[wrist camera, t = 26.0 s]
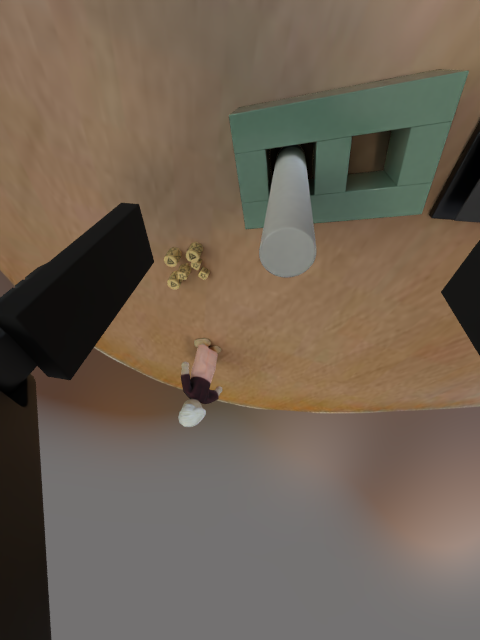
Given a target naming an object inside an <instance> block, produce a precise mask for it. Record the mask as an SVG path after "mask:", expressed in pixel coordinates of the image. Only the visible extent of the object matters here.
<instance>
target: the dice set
mask: <svg viewBox="0 0 480 640" xmlns="http://www.w3.org/2000/svg"><path fill="white" fill-rule="evenodd" d="M202 251H203V247H202V246H201V244H199V243H197V242H195V243H192V244H191V245H190V247H189V249H188V251H187V253H186V258H187V259H188V261H190V262H192V264H191V266H189V264H188V263H187V264H183V265H181V266H180V268H179V270H178V271H175V272H173V273H172V274H171V276H170V278H169V280H168V283H167V285H168V286H169V287H170V288H171V289H178V288H179V286H180V284H181V282H182V281H183V280H186V279H187V277H188V274H190V272H191V268H190V267H192V268H194V269H196V270H199V267H200V265H201V262H202V260H201V259H199V258H200V256H201V253H202ZM181 254H182V253H181V251H180V250H179V249H178V248H174V247H173V248H171V249H170V250H169V251H168V253H167V254H166V256H165V257H164V262H165V263H166V265H167V266H170V267H174V266H176V265H177V263H178V262H179V260H180V258H181ZM209 273H210V271H209V270H208V269H206V268H204V267H203V268H202V269H201V271H200V272H199V274H198V276H199V277H200V278H202V279H204V280H205V279H206V278H207V277H208V275H209Z"/></svg>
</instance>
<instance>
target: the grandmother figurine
mask: <svg viewBox="0 0 480 640" xmlns="http://www.w3.org/2000/svg"><path fill="white" fill-rule="evenodd" d="M194 344H195V347H196V348H198V349H197V352H196V357H195V360H194V364H193V368H192V372H191V379H190V375H189V369H188V368H189V363H188V362H183V363H182V373H181V381H182V386H183V391H184V393H185V394H186V395H187V396H188V397H189V398H190V399H189V400H187V401H186V402H185V403H184V405H183V407H182V409H181V412H179V413H180V414H179V417H178V418H179V423H180V424H182V425H183V426H184V427H192V426H194V425H197V424H198V423H199V422H200V421H201V420H202V419H203V417H204V416H205V415H206V411H205V410H204V409H203V408H202V406H201V403H203V404H208V403H211V402H213V401H215V400H217V399H218V396H219V395H220V393H221V392H222V387H220V386H218V387H217V388H216V390H209V388H210V384H211V380H212V378H213V375H214V371H215V367H216V361H217V356H218V354H219V353H220V352H221V348H219V347H218V346H212V347H210V348H208V346H209V345H210V344H211V342H210V341H209V340H208V339H197V340H195V341H194Z"/></svg>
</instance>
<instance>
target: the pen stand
mask: <svg viewBox="0 0 480 640" xmlns="http://www.w3.org/2000/svg"><path fill="white" fill-rule="evenodd" d="M468 72H469V71H468V70H446V69H438V70H432V71H427V72H422V73H417V74H411V75H406V76H401V77H396V78H391V79H385V80H380V81H375V82H370V83H364V84H359V85H354V86H349V87H343V88H338V89H333V90H328V91H322V92H317V93H312V94H307V95H301V96H296V97H291V98H286V99H280V100H275V101H270V102H265V103H259V104H254V105H249V106H244V107H239V108H237V109H236V110H235V111H234V112H232V113H231V114H230V115H229V120H230V127H231V134H232V140H233V147H234V153H235V161H236V167H237V174H238V181H239V188H240V195H241V201H242V208H243V215H244V222H245V228H246V229H255V228H263V227H264V222H265V217H266V211H267V206H268V200H269V195H270V190H271V184H272V173H271V157H270V149H271V148H277V147H284V146H291V145H297V144H304V143H310V142H313V161H312V179H308V183H309V192H310V200H311V208H312V217H313V223H324V222H336V221H348V220H359V219H371V218H383V217H394V216H406V215H418V214H422V211H423V208H424V205H425V202H426V199H427V196H428V193H429V190H430V187H431V184H432V183H431V182H432V181H433V178H434V175H435V172H436V169H437V166H438V163H439V160H440V157H441V154H442V151H443V148H444V145H445V142H446V139H447V136H448V133H449V129H450V126H451V123H452V120H453V117H454V114H455V111H456V108H457V105H458V102H459V99H460V96H461V93H462V90H463V87H464V84H465V81H466V78H467V75H468ZM390 130H391V135H390V140H389V145H388V150H387V154H386V159H385V164H384V170H381V171H372V172H364V173H356V174H348V166H349V157H350V149H351V141H352V136H357V135H363V134H370V133H376V132H383V131H390ZM347 174H348V175H347Z"/></svg>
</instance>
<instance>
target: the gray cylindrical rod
mask: <svg viewBox="0 0 480 640" xmlns="http://www.w3.org/2000/svg"><path fill="white" fill-rule="evenodd" d="M259 257H260V260H261V263H262V265H263V266H264V268H265V269H266V270H267V271H269V272H270V273H272V274H274V275H276V276H279V277H294V276H297V275H300V274H302V273H304V272H305V271H306V270H307V269H309V268H310V266H311V265H312V264H313V262H314V260H315V257H316V242H315V234H314V225H313V217H312V208H311V200H310V192H309V183H308V175H307V167H306V157H305V153H304V150H303V149H302V148H301V147H300V146H299V145H291V146H284V147H282V148H281V149H280V151H279V152H278V154H277V157H276V162H275V168H274V173H273V179H272V184H271V190H270V195H269V200H268V206H267V211H266V217H265V222H264V227H263V233H262V238H261V244H260V249H259Z"/></svg>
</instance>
